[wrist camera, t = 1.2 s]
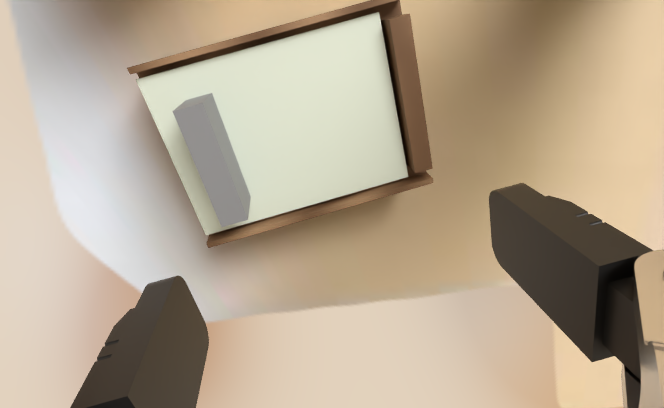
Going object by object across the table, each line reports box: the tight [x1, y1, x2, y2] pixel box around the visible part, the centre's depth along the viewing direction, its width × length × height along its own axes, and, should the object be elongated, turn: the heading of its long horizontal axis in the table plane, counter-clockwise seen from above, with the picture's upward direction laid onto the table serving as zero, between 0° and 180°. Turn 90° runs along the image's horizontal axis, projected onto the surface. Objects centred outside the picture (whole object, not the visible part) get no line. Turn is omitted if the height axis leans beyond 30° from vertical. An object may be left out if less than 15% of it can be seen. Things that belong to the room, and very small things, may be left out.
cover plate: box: [136, 12, 408, 235], centre depth 24 cm, size 14×11×4 cm
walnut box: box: [127, 0, 433, 248], centre depth 27 cm, size 16×12×6 cm
